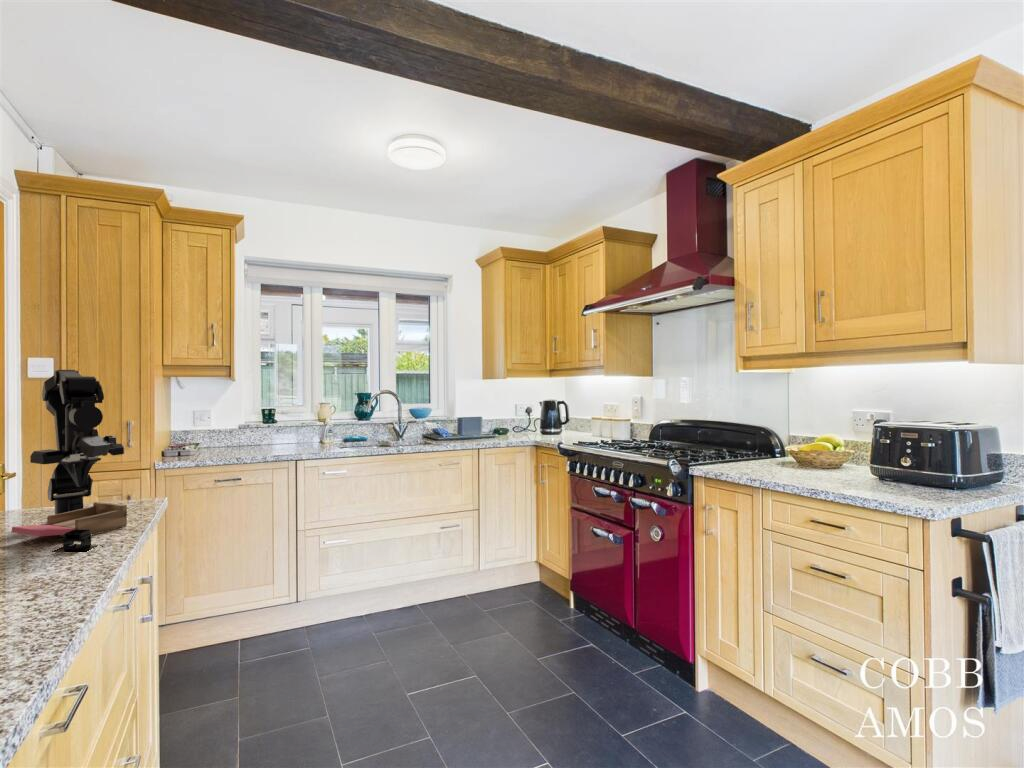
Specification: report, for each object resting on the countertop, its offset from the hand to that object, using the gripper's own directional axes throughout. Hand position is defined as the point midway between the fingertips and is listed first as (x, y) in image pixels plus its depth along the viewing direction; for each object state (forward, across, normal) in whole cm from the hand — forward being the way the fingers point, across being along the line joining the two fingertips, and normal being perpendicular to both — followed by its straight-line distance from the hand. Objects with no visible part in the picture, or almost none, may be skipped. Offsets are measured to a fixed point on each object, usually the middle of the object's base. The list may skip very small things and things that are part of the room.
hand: (79, 486), depth 139 cm
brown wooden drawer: (+11, +1, -1) cm, 11 cm away
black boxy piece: (+12, -9, -15) cm, 21 cm away
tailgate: (+9, -5, -1) cm, 10 cm away
